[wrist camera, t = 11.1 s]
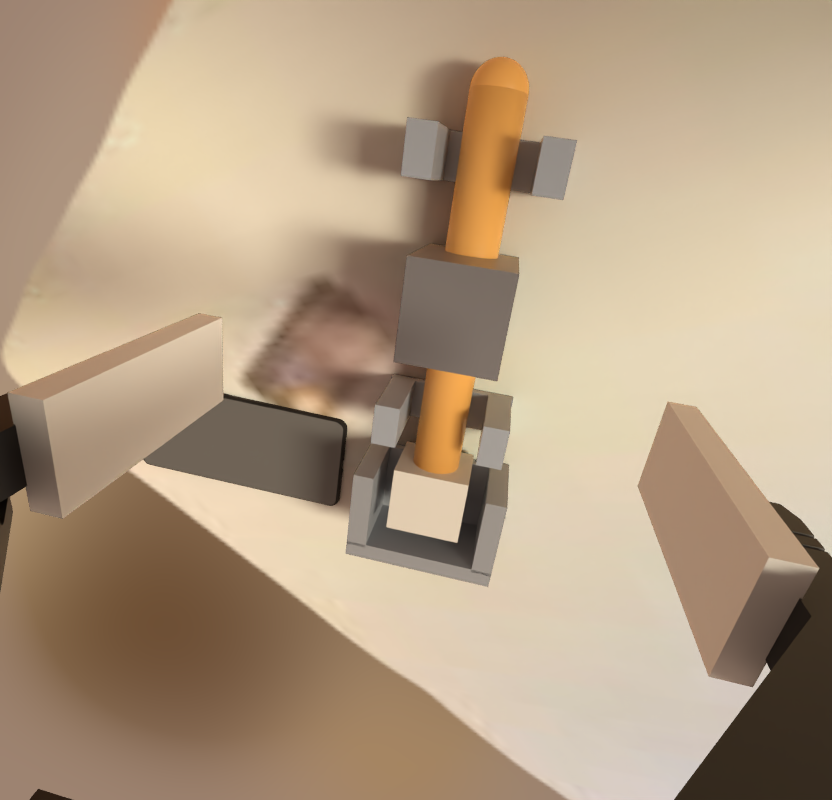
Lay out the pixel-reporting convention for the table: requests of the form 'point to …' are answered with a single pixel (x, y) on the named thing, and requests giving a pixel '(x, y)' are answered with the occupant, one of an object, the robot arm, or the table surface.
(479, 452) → the clip
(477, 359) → the orange rod with blocks
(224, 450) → the smartphone
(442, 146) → the clip
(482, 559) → the end holder
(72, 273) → the table surface
